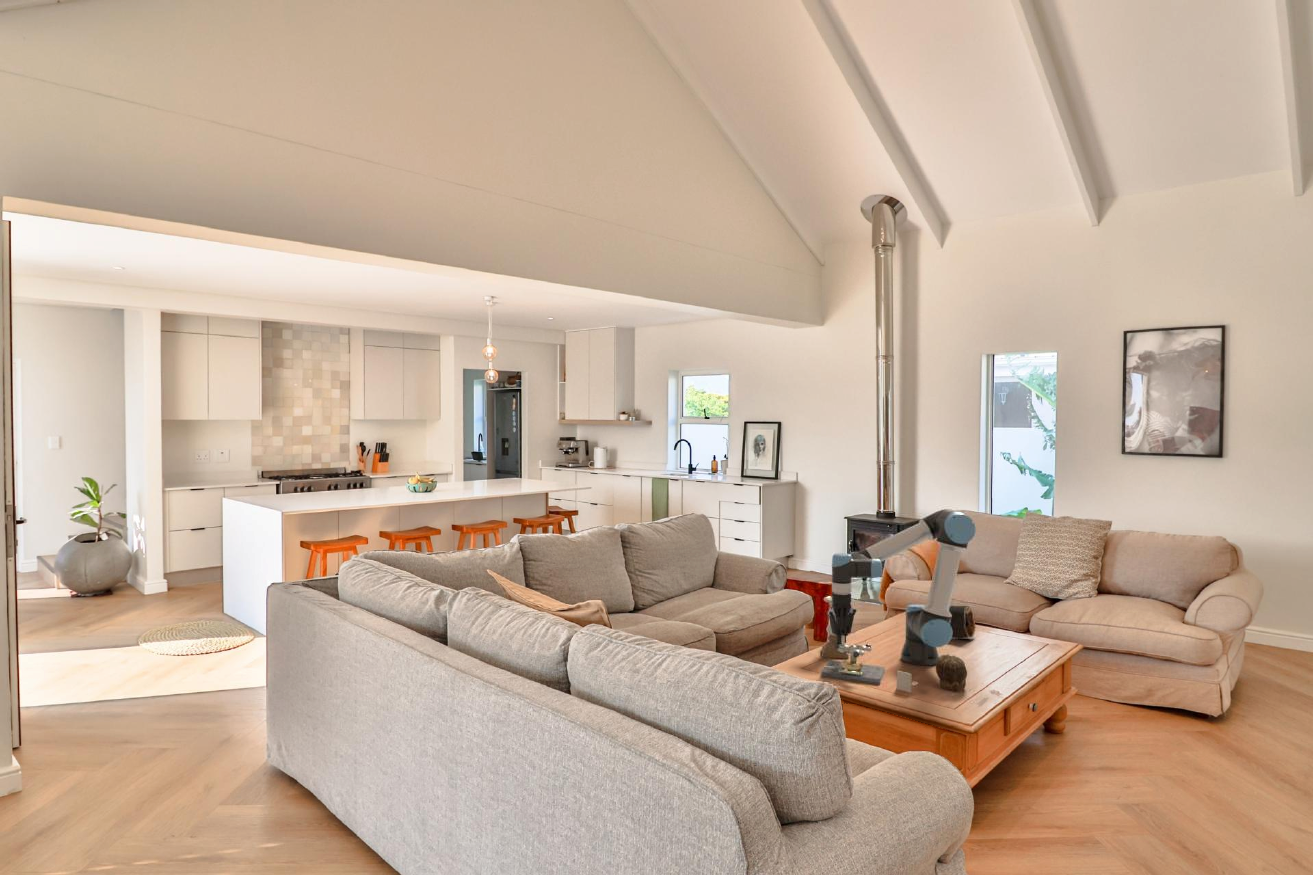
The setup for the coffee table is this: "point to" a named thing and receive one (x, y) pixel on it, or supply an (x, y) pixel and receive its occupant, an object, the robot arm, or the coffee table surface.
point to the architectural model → (904, 681)
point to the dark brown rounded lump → (951, 673)
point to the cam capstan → (852, 656)
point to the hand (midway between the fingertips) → (841, 651)
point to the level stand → (853, 673)
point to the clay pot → (962, 622)
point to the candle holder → (832, 640)
